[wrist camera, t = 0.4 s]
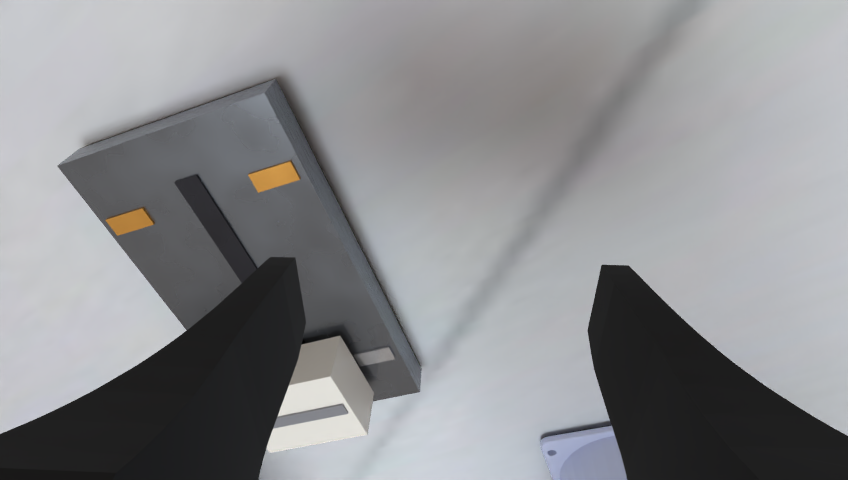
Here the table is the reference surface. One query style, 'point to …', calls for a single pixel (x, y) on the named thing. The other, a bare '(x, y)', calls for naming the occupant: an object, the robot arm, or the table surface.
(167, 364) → the robot arm
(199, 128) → the fader panel
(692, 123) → the table surface
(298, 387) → the fader knob
